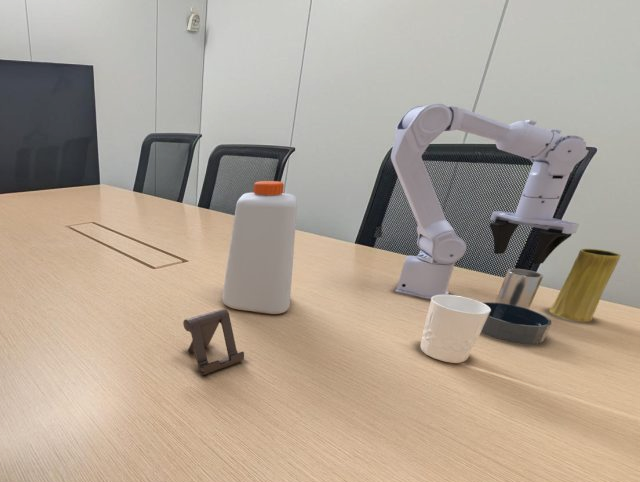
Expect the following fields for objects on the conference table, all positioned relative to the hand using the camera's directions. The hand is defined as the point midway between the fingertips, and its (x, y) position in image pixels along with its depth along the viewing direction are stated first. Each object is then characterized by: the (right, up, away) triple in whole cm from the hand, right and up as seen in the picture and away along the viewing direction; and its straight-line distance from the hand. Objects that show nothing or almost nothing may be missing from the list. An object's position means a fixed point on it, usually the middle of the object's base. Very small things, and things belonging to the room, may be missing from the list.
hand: (517, 258), depth 84 cm
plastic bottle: (-57, -10, +7) cm, 58 cm away
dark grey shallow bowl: (-12, -16, -9) cm, 22 cm away
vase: (+7, -13, -4) cm, 15 cm away
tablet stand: (-73, -20, -16) cm, 77 cm away
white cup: (-30, -19, -16) cm, 39 cm away
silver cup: (-3, -12, -1) cm, 12 cm away
